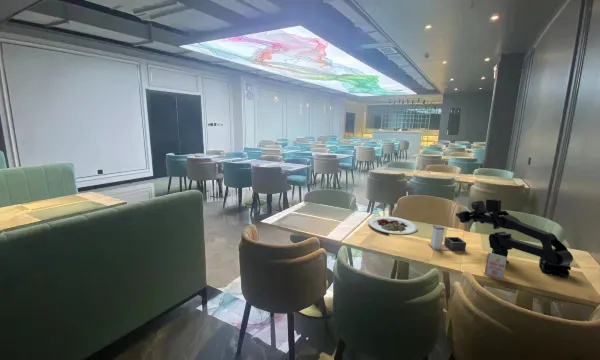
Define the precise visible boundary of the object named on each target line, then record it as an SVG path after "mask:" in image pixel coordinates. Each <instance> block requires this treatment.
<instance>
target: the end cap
mask: <svg viewBox="0 0 600 360" xmlns="http://www.w3.org/2000/svg"><path fill="white" fill-rule="evenodd" d="M538 260H539V261H538V263H539V264H538V265H539V266H538V267H539V269H540V271H541V273H542V274H545V275H549V276H554V277H557V278H562V279H566V280H567V279H569V276H570V274H571V273H570V272H569V271H571V270H572V267H571V263H569V264H564V265H559V266H555V265H552V264H550V263H548V262H546V261H544V260H543V259H542V258H541V257H539V259H538Z"/></svg>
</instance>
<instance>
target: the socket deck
mask: <svg viewBox="0 0 600 360" xmlns="http://www.w3.org/2000/svg"><path fill="white" fill-rule="evenodd" d="M443 241H444V242H443V243H442V248H441V249H433V248H432V247H431V243H427V246H428V247H429V248H430V249H432V251H433V252H466V246H467V242H466V241H465V240H463V239H462V238H461V237H459V236H445V238H444V240H443Z"/></svg>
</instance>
